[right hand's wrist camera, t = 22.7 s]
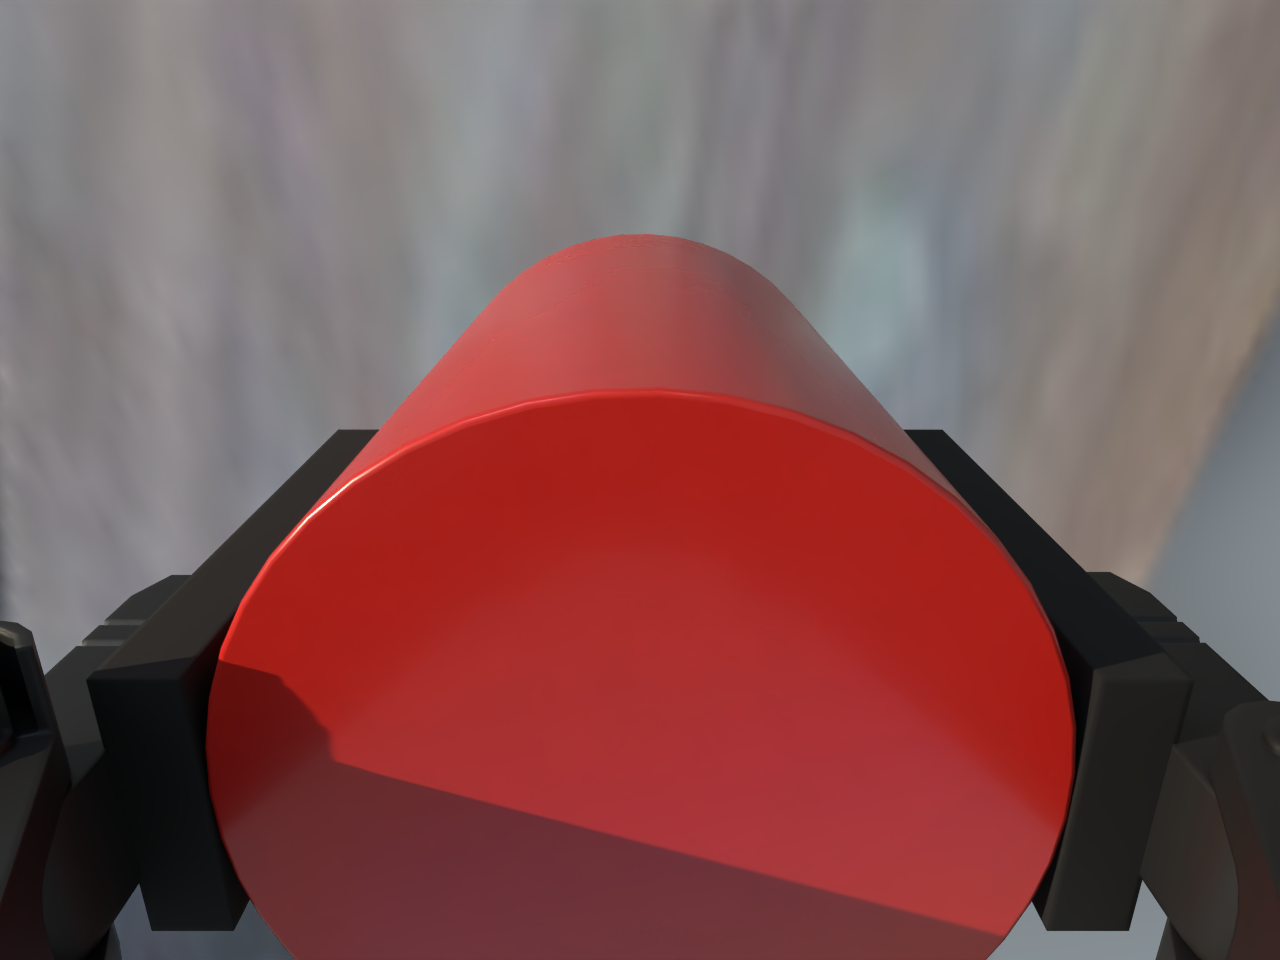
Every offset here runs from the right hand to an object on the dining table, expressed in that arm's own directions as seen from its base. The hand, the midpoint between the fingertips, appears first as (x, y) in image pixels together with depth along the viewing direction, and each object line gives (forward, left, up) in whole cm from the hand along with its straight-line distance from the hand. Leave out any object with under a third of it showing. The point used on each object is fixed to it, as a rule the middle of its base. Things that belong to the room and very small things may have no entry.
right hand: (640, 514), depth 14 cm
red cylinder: (0, 0, -4) cm, 4 cm away
